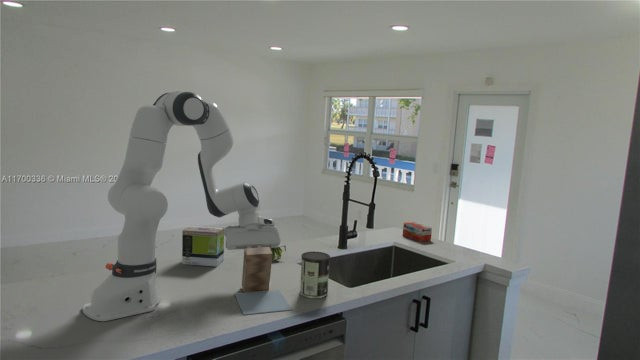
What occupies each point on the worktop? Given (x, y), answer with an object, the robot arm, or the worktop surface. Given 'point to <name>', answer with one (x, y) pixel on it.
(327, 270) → the coffee can
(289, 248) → the worktop surface
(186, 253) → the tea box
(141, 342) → the worktop surface
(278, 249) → the passion flower
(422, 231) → the medicine box
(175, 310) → the worktop surface
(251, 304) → the mat
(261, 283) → the cardboard box
